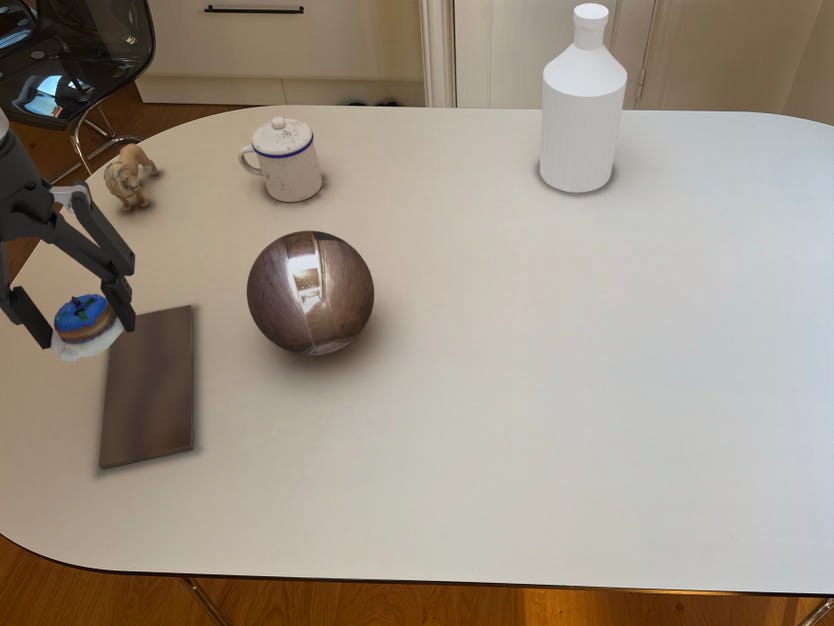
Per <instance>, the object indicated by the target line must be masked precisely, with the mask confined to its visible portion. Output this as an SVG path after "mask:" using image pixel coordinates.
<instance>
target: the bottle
mask: <svg viewBox="0 0 834 626" xmlns="http://www.w3.org/2000/svg"><path fill="white" fill-rule="evenodd" d="M609 12H610V11H609V9H608V8H607V7H606V6H604V5H603V4H600V3H595V2H594V3H593V2H589V3H587V2H586V3H582V4H579V5H577V6H575V7H574V9H573V20H572V22H573V23H574V41H572V43H571V44H570V45H568V47H567V48H565V50H563V51H562V52H561V53H560V54H559V55H558V56H556V57H555V58H554V59H553V60H551V61H550V62H548V63H547V64H546V65H545V66H544V69H543V71H542V94H541V123H540V124H541V125H540V149H539V150H540V152H539V158H540V159H539V174H540V177H541V178H542V180H543V181H544V182H545V183H546V184H547V185H548V186H550V187H552V188H554V189H556V190H559V191H562V192H567V193H576V194H577V193H578V194H579V193H588V192H594V191H595V190H598V189H600V188H602V187H603V186H605V185H606V184H607V183H608V181H609V180H610V179H611V176H612V171H613V165H614V158H615V153H616V147H617V142H618V137H619V136H618V135H619V128H620V123H621V118H622V112H623V106H624V100H625V94H626V88H627V81H628V73H627V70H626V69H625V68H624V66H623V65H622V64H621V63H620V62H619V61H618V60H617V59H616V58H615V57H614V56H613V55H612V54H611V52H610V51H609V50H608V48H607V47H606V46H605V44H604V43H603V41H604V34H605V28H606V26H607V24H608V22H609V21H608V20H609Z"/></svg>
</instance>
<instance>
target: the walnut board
mask: <svg viewBox="0 0 834 626" xmlns="http://www.w3.org/2000/svg"><path fill="white" fill-rule="evenodd" d="M193 315H194V314H193V307H192V305H191V304H188V305H182V306H177V307H171V308H167V309H161V310H156V311H151V312H146V313H145V312H144V313H141V314H136V319H135V331H134V332H129V333H127V331H126V330H125V328H124V330H123V332H122V333H121V334H120V335H119V336H118V337H117V338H116V340H115V341H114V342H113V343H112V345H110V346H109V355H108V366H107V376H106V386H105V395H104V396H105V397H104V407H103V419H102V429H101V441H100V449H99V450H100V451H99V459H98V467H99V468H100V469H101V470H106V469H111V468H116V467H120V466H124V465H129V464H134V463H138V462H142V461H146V460H151V459H155V458H161V457H166V456H169V455H174V454H178V453H183V452H187V451H191V450H194V349H193V348H194V345H193V344H194V342H193V341H194V340H193V339H194V338H193V337H194V335H193V333H194V330H193V329H194V328H193V327H194V326H193V325H194V324H193V319H194V317H193Z"/></svg>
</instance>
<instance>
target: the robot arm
mask: <svg viewBox="0 0 834 626" xmlns="http://www.w3.org/2000/svg"><path fill="white" fill-rule="evenodd" d="M55 203H60V204H61V205H63V206H64V208H65V209H66V210H67V212H68V213H69V214H74V215H75V218H76V219H77V221H78V223H79V224H80V226H81V227H82V228H83V229H84V230H85V232H86V233H87V234H88V235H89V236H90V238H92V240H91V239H90V238H88V237H87V236H86V235H84V234H83V233H82V232H80V231H79V230H78V229H76V228H75V227H74V226H73V225H72V224H70V223H69V222H68V221H66V219H65V217H64V215H63V214H62V213H61V212H60V211H58V210H57V208H55V207H54V205H55ZM34 237H37V238H39V239H40V240H41V241H42V242H44V243H46V244H47V245H54V246H55V247H57V248H58V249H59V250H61V251H62V252H63V253H64V254H66V255H68V256H69V257H70V258H71V259H72V260H74V261H75V262H77V263H78V264H80V265H81V266H82V267H84V268H85V269H86V270H88V271H89V272H91V273H92V274H93V275H95V276H96V277H98V278H99V279H100V288H99V289H100V291H101V292H102V294H103V297H104V298H106V299H107V301H108V302H109V304H110V305H111V307H112V309H113V310H114V312H115V313H116V315H117V317H118V318H119V320H120V322H121V323H122V325H123V326H124V328H125V330H126V331H127V333H129V332H134V331H135V319H136V315H137V313H136V311H135V309H134V307H133V306H132V302H133V301H132V300H133V288H132V286H131V285H130V282H129V281H128V279H127V278H126V277H132V276H133V275H134V274H135V268H136V254H135V252H134V251H133V249H132V248H131V247H130V246H129V245H128V243H127V242H126V241H125V239H124V238H123V237H122V236H121V235H120V233H119V232H118V231H117V229H116V228H115V227H114V226H113V224H112V223H111V222H110V220H109V218H107V216H105V214H104V213H103V211H102V210H101V209H100V208H99V207H98V205H97V204H96V203H95V201H94V200H93V196H92V193H91V189H90V186H89V184H88V182H86V181H85V180H83V179H77V180H74V182H73V185H72V186H69V185H68V186H53V184H52V183H50V182H49V181H48V180H47V179H45V178H44V177H42V175H41V174H40V173H39V171H38V169H37V167H36V165H35V163H34V161H33V159H32V157H31V156H30V154H29V153H28V151H27V149H26V147H25V146H24V145H23V143H22V141H21V139H20V137H19V136H18V134H17V133H16V132H15V130H14V129H13V128H11V126H10V121H9V119H8V117H7V116H6V114H5V112H4V111H3V109H2V108H1V107H0V310H1V311H2V312H3V313H4V315H5V316H6V317H7V318H8V319H9V321H10V322H11V323H12V324H13V325H15V326H21V325H23V326H24V327H25V329H26V330H27V331H28V333H29V334H30V335H31V337H32V338H33V339H34V341H35V342H36V343H37V345H38V346H39V347H40V348H41V350H42V351H44V350H47V349H48V350H49V349H52V348H51V339H52V333H53V332H54V327H52V325H51V324H50V323H49V321H48V320H47V319H46V317H45V315H44V314H42V312H41V310H40V309H39V308H38V306H37V305H36V303H35V302H34V301H33V300H32V298H31V297H30V295H29V294H28V292H27V291H26V290H25V288H24V286H23V285H17V286H13V287H12V289H11V285H12V281H13V280H12V279H11V277H10V267H9V266H10V265H9V258H8V250H7V249H8V248H7V242H12V241H15V240H17V239H19V238H34Z"/></svg>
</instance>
